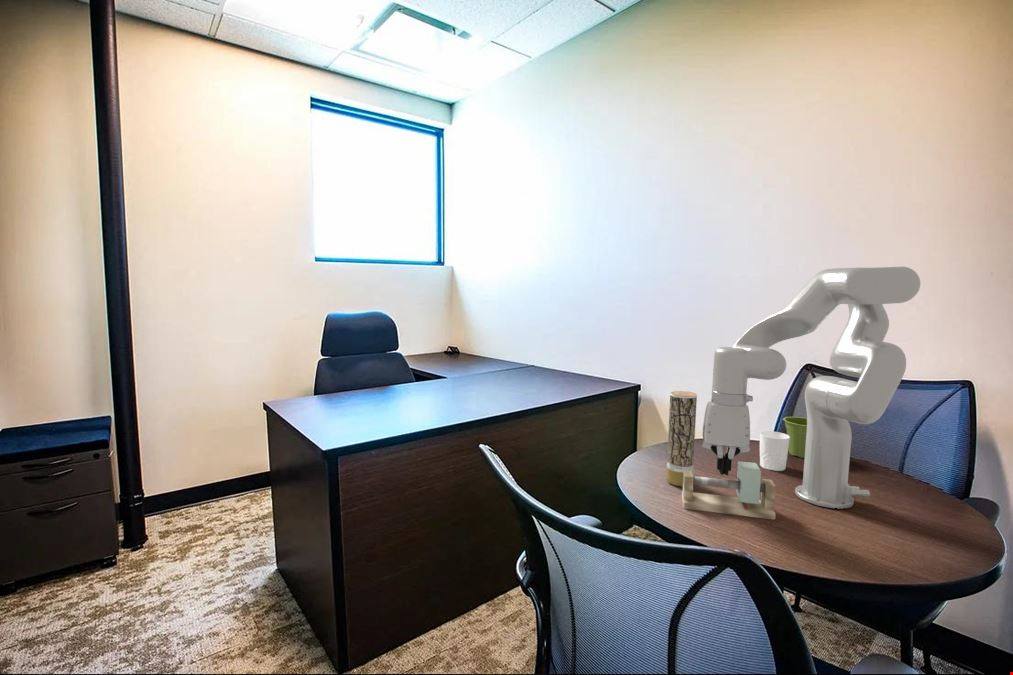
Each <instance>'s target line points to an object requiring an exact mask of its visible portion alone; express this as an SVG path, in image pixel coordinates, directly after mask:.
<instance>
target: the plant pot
mask: <svg viewBox="0 0 1013 675" xmlns="http://www.w3.org/2000/svg"><path fill="white" fill-rule="evenodd" d="M782 420H783V421H784V423H785V429H786V435H788V436H790V440H789V448H788V454H790V455H791V456H793V457H794V456H796V457H798V458H801V459H805V446H806V433H807V417H803V416H802V417H799V416H786V417H783V419H782Z"/></svg>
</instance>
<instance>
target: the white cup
mask: <svg viewBox="0 0 1013 675" xmlns="http://www.w3.org/2000/svg"><path fill="white" fill-rule="evenodd" d="M789 440H790V436H788V435H787V433H783V432H779V431H773V430H765V431H763V430H762V431H760V432H759V466H760V467H762V468H763V469H765V470H769V471H774V472H775V471H776V472H783V471H785V470H786V467H787V460H788V455H789Z"/></svg>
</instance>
